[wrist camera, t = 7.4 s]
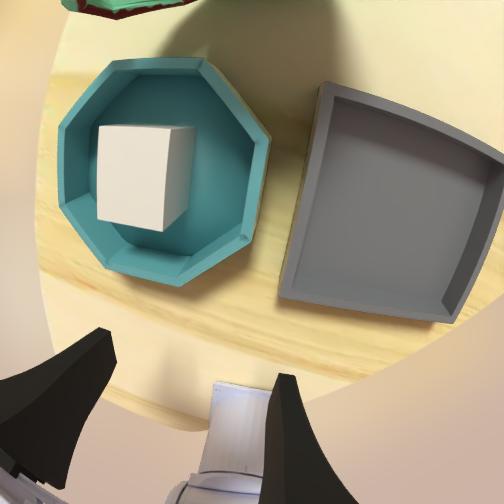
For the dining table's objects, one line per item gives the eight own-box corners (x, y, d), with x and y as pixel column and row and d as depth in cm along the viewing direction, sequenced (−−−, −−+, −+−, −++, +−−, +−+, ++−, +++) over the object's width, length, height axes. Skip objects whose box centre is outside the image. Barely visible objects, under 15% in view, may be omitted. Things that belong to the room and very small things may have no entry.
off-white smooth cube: (187, 208, 17) (162, 231, 14) (131, 199, 18) (97, 219, 14) (196, 127, 15) (170, 129, 12) (136, 122, 15) (99, 126, 12)
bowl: (248, 272, 20) (240, 300, 17) (89, 238, 20) (64, 257, 17) (283, 77, 14) (282, 65, 11) (95, 71, 15) (65, 68, 12)
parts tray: (440, 304, 19) (453, 324, 17) (279, 276, 19) (278, 296, 17) (494, 155, 14) (515, 161, 11) (319, 87, 14) (324, 81, 12)
